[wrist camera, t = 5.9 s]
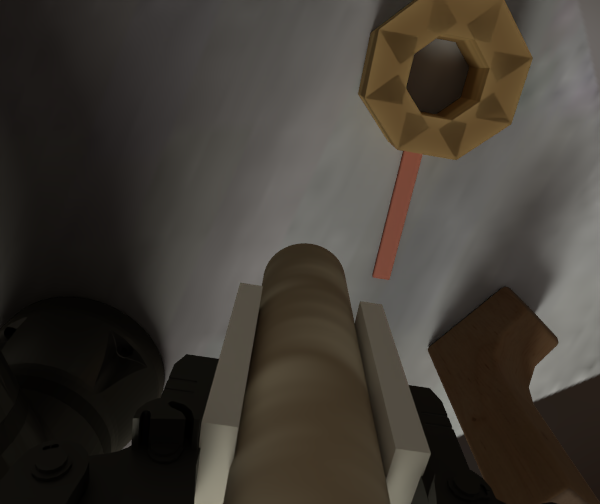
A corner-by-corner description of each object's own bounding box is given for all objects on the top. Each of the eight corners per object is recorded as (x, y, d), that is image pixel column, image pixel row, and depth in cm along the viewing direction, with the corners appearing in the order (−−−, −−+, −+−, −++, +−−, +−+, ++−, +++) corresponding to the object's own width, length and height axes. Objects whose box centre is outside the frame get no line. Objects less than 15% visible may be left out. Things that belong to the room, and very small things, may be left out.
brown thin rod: (388, 277, 40) (389, 279, 40) (372, 275, 40) (373, 277, 40) (422, 149, 36) (423, 150, 36) (404, 146, 36) (405, 147, 36)
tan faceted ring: (349, 134, 36) (355, 142, 32) (380, -14, 32) (390, -24, 28) (477, 156, 36) (497, 167, 33) (521, 13, 33) (549, 7, 29)
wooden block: (504, 283, 40) (647, 438, 24) (536, 314, 42) (693, 484, 25) (424, 347, 43) (503, 530, 26) (456, 376, 44) (551, 568, 27)
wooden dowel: (256, 311, 20) (131, 1004, 5) (268, 235, 19) (146, 871, 4) (337, 324, 20) (430, 1021, 6) (354, 249, 19) (536, 902, 4)
